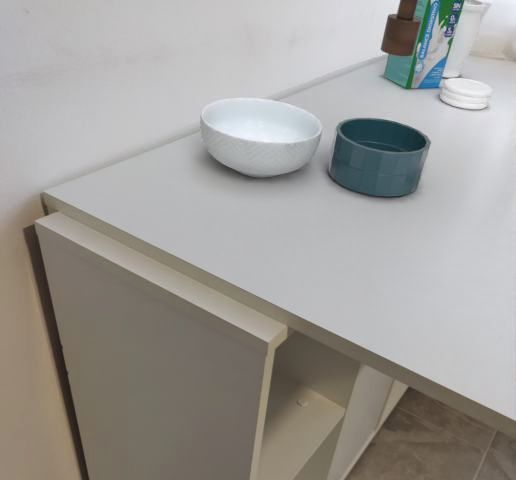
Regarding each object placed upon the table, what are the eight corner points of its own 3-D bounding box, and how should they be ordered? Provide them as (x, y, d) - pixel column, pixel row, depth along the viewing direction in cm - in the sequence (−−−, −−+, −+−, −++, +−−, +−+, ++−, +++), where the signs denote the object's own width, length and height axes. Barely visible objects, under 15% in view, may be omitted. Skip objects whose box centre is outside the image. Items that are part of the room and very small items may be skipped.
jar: (461, 83, 124) (485, 8, 114) (417, 74, 126) (437, -1, 116) (465, 72, 132) (488, 1, 122) (423, 64, 134) (442, -7, 124)
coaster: (432, 101, 111) (437, 83, 109) (447, 91, 118) (452, 74, 115) (479, 114, 108) (486, 95, 105) (492, 103, 114) (498, 85, 112)
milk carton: (406, 89, 116) (443, -54, 99) (383, 76, 122) (414, -61, 105) (439, 87, 119) (480, -51, 103) (414, 75, 125) (450, -58, 109)
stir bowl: (421, 172, 83) (434, 129, 78) (411, 207, 73) (425, 161, 69) (338, 153, 85) (346, 111, 81) (318, 185, 75) (326, 140, 71)
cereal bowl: (204, 191, 71) (205, 138, 66) (195, 142, 83) (196, 94, 78) (327, 193, 74) (336, 142, 69) (301, 146, 86) (308, 99, 81)
